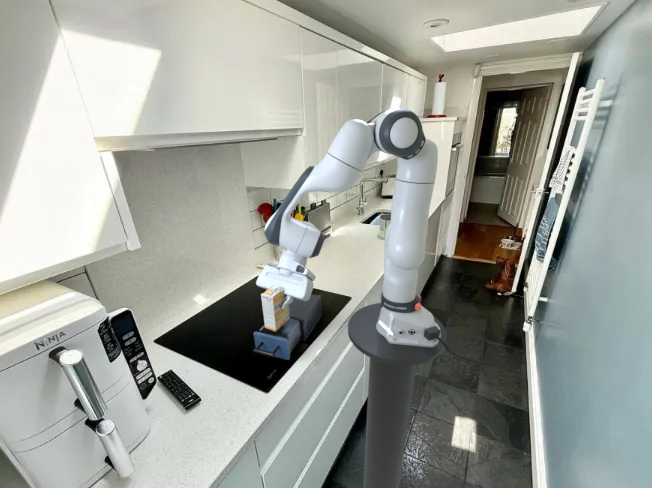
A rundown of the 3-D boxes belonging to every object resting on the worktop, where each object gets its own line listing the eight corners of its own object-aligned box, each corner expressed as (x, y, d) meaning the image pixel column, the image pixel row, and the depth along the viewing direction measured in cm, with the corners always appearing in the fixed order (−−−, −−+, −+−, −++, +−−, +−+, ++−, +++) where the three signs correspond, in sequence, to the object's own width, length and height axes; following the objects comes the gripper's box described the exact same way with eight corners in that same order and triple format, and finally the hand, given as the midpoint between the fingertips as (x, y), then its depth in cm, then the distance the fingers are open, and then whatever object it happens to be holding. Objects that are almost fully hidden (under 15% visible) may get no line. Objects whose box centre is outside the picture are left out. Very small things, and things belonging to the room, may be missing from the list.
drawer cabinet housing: (305, 341, 110) (303, 319, 106) (271, 333, 115) (269, 312, 110) (321, 316, 124) (321, 295, 119) (291, 310, 128) (289, 290, 124)
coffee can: (387, 233, 210) (388, 213, 204) (398, 237, 202) (399, 216, 196) (375, 236, 205) (376, 215, 199) (386, 240, 197) (387, 219, 191)
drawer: (281, 370, 96) (279, 351, 93) (248, 361, 100) (244, 342, 97) (307, 332, 113) (306, 314, 109) (278, 325, 117) (276, 308, 114)
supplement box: (276, 332, 99) (272, 297, 93) (264, 328, 101) (260, 294, 95) (290, 319, 105) (287, 285, 100) (279, 315, 108) (275, 282, 102)
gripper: (261, 258, 105) (245, 295, 102) (312, 270, 95) (295, 312, 92) (271, 265, 110) (256, 301, 107) (320, 277, 101) (304, 317, 97)
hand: (274, 306), depth 100 cm, fingers closed on supplement box, 5 cm apart
